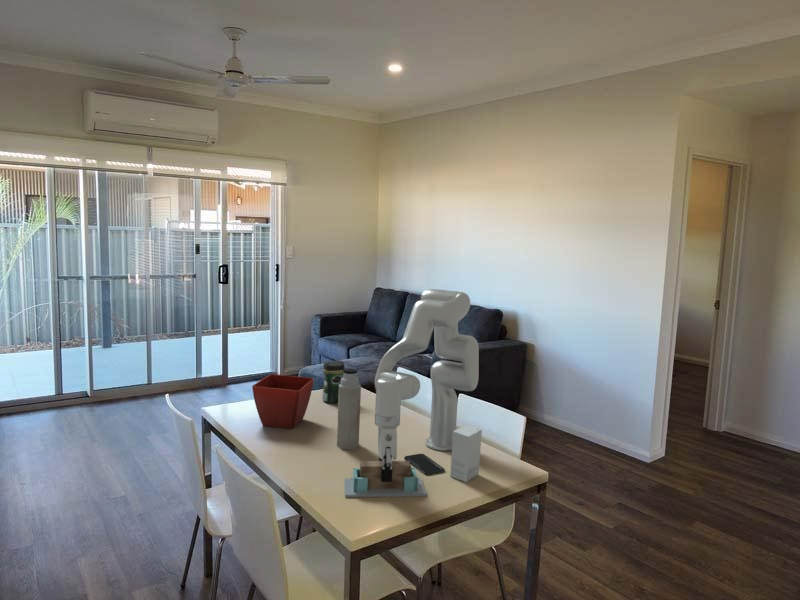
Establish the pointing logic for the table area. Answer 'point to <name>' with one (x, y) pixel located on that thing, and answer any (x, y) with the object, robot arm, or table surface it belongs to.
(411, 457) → the phone
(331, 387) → the coffee jar
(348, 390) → the thermos bottle
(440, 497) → the table surface
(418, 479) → the rail
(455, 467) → the skincare box
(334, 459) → the table surface
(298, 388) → the plant pot
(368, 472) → the brown wooden block
